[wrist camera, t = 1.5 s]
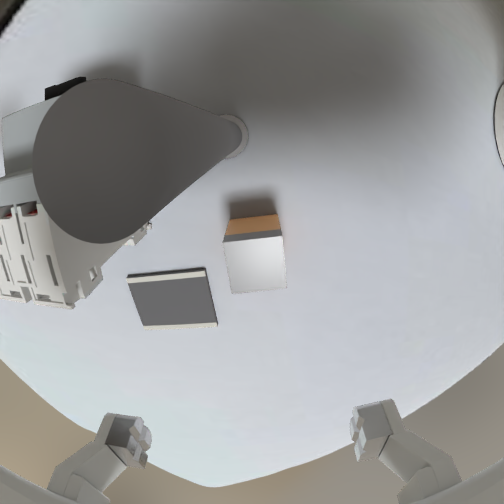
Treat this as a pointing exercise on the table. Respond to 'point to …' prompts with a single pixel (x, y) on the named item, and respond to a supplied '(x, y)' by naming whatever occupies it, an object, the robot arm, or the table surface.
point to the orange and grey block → (255, 254)
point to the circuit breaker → (42, 225)
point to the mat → (173, 300)
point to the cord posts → (123, 156)
